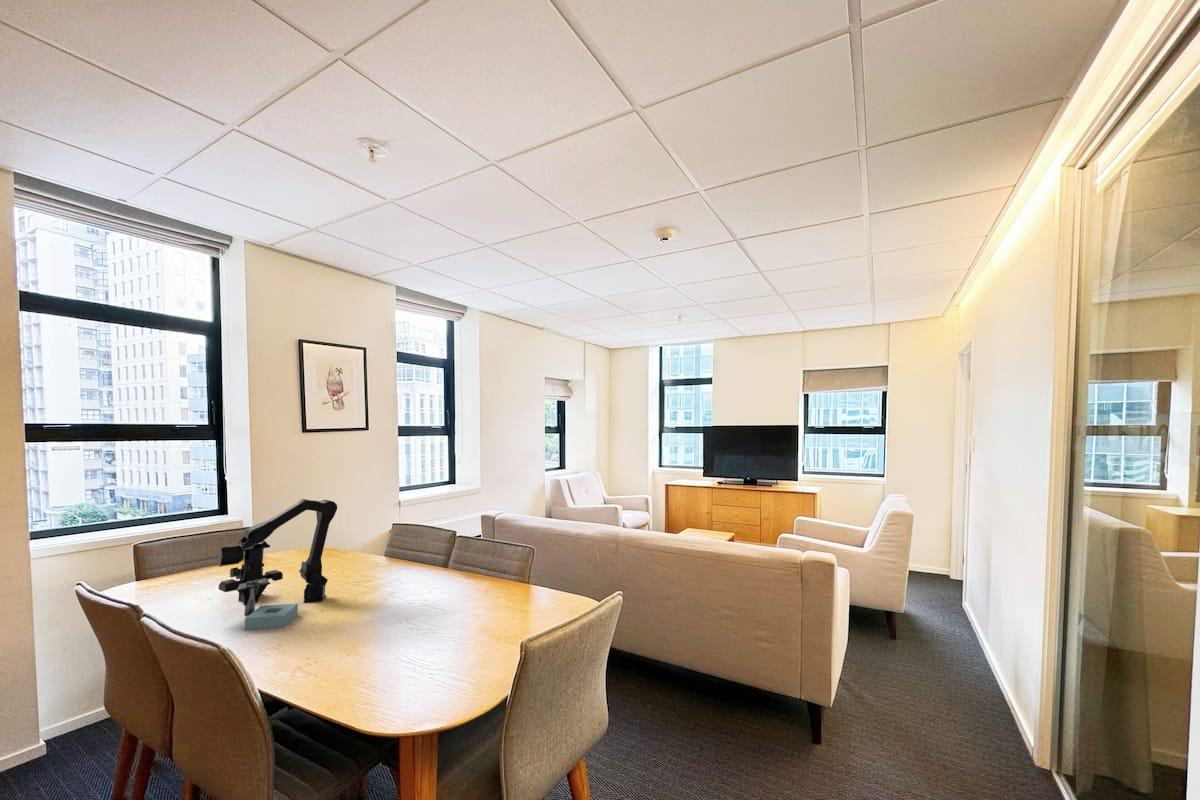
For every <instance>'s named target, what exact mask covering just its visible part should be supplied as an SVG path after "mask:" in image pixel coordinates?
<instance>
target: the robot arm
mask: <svg viewBox="0 0 1200 800" xmlns="http://www.w3.org/2000/svg"><path fill="white" fill-rule="evenodd" d="M337 510H338V504H337V503H336V502H335V501H334V500H333V501H332V500H330V499H329V500H328V499H323V500H311V499H306V498H302V499H300V500H299V501H298V502H296V503H294V504H292V505H291V506H290V507H288V508H286V509H285V510H283V511H281V512H280V513H278V514H277V515H275V516H273V517H271V518H270V519H267V520H264V521H262V522H260V523H256V524H254V525H252V526H250V527H248V528H247V529H246V530H245V532H244V536H242V538H240V540H239V541H238V542H237V544H234V545H225V546H223V545H222V546H220V550H219V553H218V555H217V565H218V567H225V566H230V565H238V564H240V563H242V561H243V563H242V564H241V568H239V567H237V566H236V567H232V568H230V571H229V577H230V578H231V579H225V580H222V581H220V582H219V584H218V590H220V591H221V592H224V593H229V592H233V591H237V592H238V595H239V594H240V596H241V599H242V601H241V602H242V604H243V607H245V606H246V605H247V600H248V590H249V588H247V587H246V584H250V583H254V582H255V585H257V588H256V601H255V604H257V603H258V601H259V600H260V598H261V596H262V595H263V593H264V591H265V590H266V588H267V587H268V585H269V586H270V585H271V582H269V580H272V581H273V582H277V581H280V580H283V579H284V578H283V577H284V574H283V572H282V571H280V570H277V569H272V570H269V571H265V573H263V575H262V568H263V567H265V563H264V549H268V548H271V545H270V544H269V543H267V541H266V540H267V538H269V537H270V536H272V534H273V533H274V532H275V531H276V530H277V529H278V528H280V527H281V526H284V524H287V523H288V522H290V521H291V520H293V519H294V518H296V517H297V516H299V515H301V514H302V513H304V512H305V511H312V512H313V511H314V512H316V514H315V517H316V520H317V521H316V526H315V530H314V533H313V538H312V543H311V547H310V551H309V554H308V558H307V559H306V561H301V565H300V569H299V572H298V573H300V578H302V579H303V580H304V581H305V583H306V585H305V588H304V589H303V591H304V592H303V602H302V603H314V602H315V601H319V602H322V601H324V600H325V598H326V597H327V594H326V585H327V583H328V578H327V577H326V576H324V575H323V574H322V573H323V565H322V564H323V563H322V556H323V552H324V547H325V544H326V540H327V535H328V531H329V526H330V523H331V522H332V520H333V518H334V517H335V515H336V512H337ZM233 578H235V579H233ZM240 579H243V580H240ZM255 579H257V580H255ZM246 581H248V582H246ZM315 603H316V602H315Z"/></svg>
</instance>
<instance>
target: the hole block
mask: <svg viewBox="0 0 1200 800" xmlns="http://www.w3.org/2000/svg"><path fill="white" fill-rule="evenodd" d="M298 606H299V603H286V604H285V603H283V604H282V603H281V604H266V605H260V606H259V607H258V608H255V611H254V612H252V613H251V614H250V615H249V616H246V617H245V618H244V628H243V629H244V631H251V630H252V631H253V630H255V631H256V630H267V629H279V628H282V629H283V628H286V626H288V625H289V624H290V622H291V621H292V620H293V619H294V618H295V617H297V616H298V609H299V607H298Z"/></svg>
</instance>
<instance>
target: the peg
mask: <svg viewBox="0 0 1200 800" xmlns="http://www.w3.org/2000/svg"><path fill="white" fill-rule="evenodd" d="M247 588H249V590H248V600H247V605H246V606H244V616H246V617H247V616H249V615H250V614H251V613H252V612H254V611H255V610H256V603H255V601H256V588H257V585H250V586H247Z"/></svg>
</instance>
